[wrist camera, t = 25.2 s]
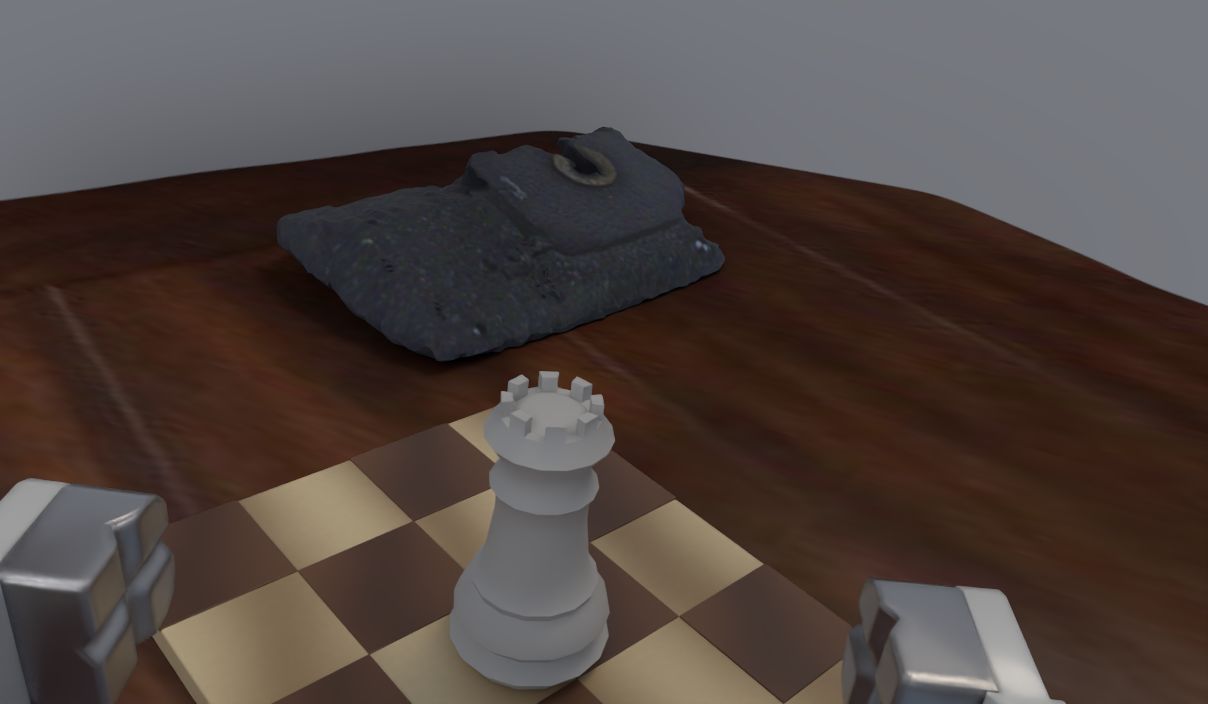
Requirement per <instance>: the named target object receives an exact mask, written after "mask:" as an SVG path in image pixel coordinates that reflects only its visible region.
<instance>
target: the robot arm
mask: <svg viewBox="0 0 1208 704" xmlns="http://www.w3.org/2000/svg"><path fill="white" fill-rule="evenodd" d="M168 524H169V519H168V514H167V509H166V503H165V500H164V499H162V498H161V497H159V496H158V495H154V494H147V493H140V492H132V491H125V490H118V489H111V488H104V487H96V486H89V485H82V484H75V483H73V484H68V483H62V482H55V481H47V480H40V479H33V478H29V479H26V480H24V481H21V482H19V483H17V484H16V485H15V486H14V487H13V488H12V489H11V490H10V491H9V492H8V493H7V494H6V495H5V497H4V498H3V499H2V500H1V501H0V704H114V703H115V702H116V700H117V698H118V697H119V695H120V693H121V692H122V690H123V688H124V687H125V685H126V683H127V682H128V680H129V678H130V677H131V675H132V673H133V671H134V670H135V668H136V666H137V665H138V661H137V655H136V649H135V646H136V645H138V644H140V643H141V642H143V641H145V640H146V639H148V638H150V637H151V636H153V635H155V634H156V633H157V631H158V629H159V627H160V625H161V624H162V622H163V620H164V618H165V617H166V615H167V612H168V608H169V605H170V602H171V598H172V595H173V592H174V584H175V562H174V554H173V552H172V551H171V550H170V549H169V548H168V547H167V546H166V545H165V544H164V543H163V542H162V540H161V539H160V537H161V535H162V534H163V532H164V530H165V529H166V527H167V526H168ZM858 606H859V610H860V615H861V619H862V622H861V623H859V624H858V625H857V626H855V627H854V628H852V629H851V630H850V631H849V633H848V637H847V640H846V644H845V648H844V651H843V660H842V670H841V685H842V697H843V702H844V704H1066V703H1065V702H1064V701H1059V700H1051V699H1050V698H1049V696H1048V693H1047V691H1046V689H1045V686H1044V684H1043V682H1042V679H1041V677H1040V675H1039V672H1038V670H1037V668H1036V665H1035V663H1034V661H1033V658H1032V656H1031V654H1030V651H1029V649H1028V647H1027V644H1026V642H1025V639H1024V637H1023V635H1022V632H1021V630H1020V628H1019V625H1018V623H1017V621H1016V618H1015V616H1014V614H1013V611H1012V609H1011V607H1010V604H1009V602H1008V600H1007V597H1006V596H1005V595H1004V594H1003V593H1002V592H1001V591H1000V590H996V589H985V588H975V587H964V586H955V587H952V586H946V585H936V584H927V583H918V582H909V581H900V580H890V579H881V578H872V577H869V578H868V580H867V581H866V583H865V584H864V586H863V588H862V591H861V594H860V597H859V600H858Z"/></svg>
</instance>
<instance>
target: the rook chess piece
mask: <svg viewBox="0 0 1208 704" xmlns="http://www.w3.org/2000/svg"><path fill="white" fill-rule="evenodd" d="M558 377H559V372H543V371H540V372H539V383H538V387H534V388H529V389H528V383H529V380H528V379H527V378H526V377H524V376H523V375H520V376H518V377H516V378H514V379H512V380H510V381H508V392H504V391H501V401H500V404H499V405H497V406H496V407H495V408H494V409H493V410H492V411H491V413H490V414H489V415H488V417H487V418H486V419H485V421H484V438H485V439H486V441H487V442H488V443H489V445H490V446H491V448H492V449H493V450H494V452H495V453H496V454H497V455H498V456H499V458H500V459H498V460H497V461H496V463H495V464H494V466H493V467H492V469H491V470H490V472H489V482H490V487H491V488H492V490H493V491H494V493H495V494H496V497H495V506H494V511H493V515H492V519H491V523H490V527H489V531H488V535H487V539H486V542H485V544H483V545H482V546H481V547H480V549H479V550H478V552H477V553H476V555H475V557H474V558H473V560H471V561H470V562H469V564H468V565H467V567H466V568H465V570H464V572H463V573H462V575H461V577H460V578H459V580H458V582H457V584H456V587H455V589H454V608H453V609H452V611H451V613H450V638H451V640H452V641H453V643H454V645H455V647H456V649H457V651H458V653H459V654H460V656H461V658H462V659H463V660H464V661H465V662H467V663H468V664H469V665H470V666H472V667H473V668H474V669H476V670H477V671H478V672H479V673H481V674H482V675H483V676H485V677H486V678H487V679H489V680H490V681H491V682H495V683H498V684H501V685H504V686H508V687H511V688H514V689H517V690H526V689H548V688H551V687H553V686H556V685H559V684H562V683H565V682H568V681H570V680H572V679H574V678H576V677H578V676H580V675H581V674H582V673H583V672H585V671H586V670H587V669H588V668H589V667H590V666H591V665H593V664H594V663H595V662H596V661H597V660H598V659H599V658H600V657H601V654H602V652H603V649H604V647H605V644H606V641H607V639H608V636H609V635H608V628H607V622H606V621H607V618H608V616H609V613H610V611H609V604H608V598H607V592H606V587H605V582H604V580H603V578H602V577H601V576H600V574H599V573H598V572H597V567H596V562H595V561H594V559H593V558H592V557H591V555H590V554H589V551H588V526H587V516H588V508H589V503H590V502H591V501H593V500H594V498H595V496H596V494H597V492H598V489H599V483H598V477H597V474H596V473H595V471H594V470H593V469H592V467H593V466H594V465H595V464H597V463H598V462H599V461H600V460H602V459H603V458H604V457H606V456H607V455H608V454H609V452H610V450H611V448H612V446H613V444H614V442H615V438H614V433H613V428H612V425H611V424H610V423H609V421H608V420H607V419H606V417H605V416H604V415H603V411H604V402H603V397H602V395H591V393H592V385H593V384H591V383H589V382H587V381H585V380H583V379H581V378H579V377H576V378H575V379H574V380H573V381H572V385H571V391H570V390H566V389H562V388H558V387H557V386H558Z"/></svg>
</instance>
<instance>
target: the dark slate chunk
mask: <svg viewBox="0 0 1208 704" xmlns="http://www.w3.org/2000/svg"><path fill="white" fill-rule="evenodd" d="M557 147H559V148H560V149H561V150H562V152H563V154H562V155H561V156H560V155H558V154H549V153H547V152H545V151H543V150H542V149H538V148H535V147H532V146H528V145H523V146H521V147H518V148H516V149H513V150H511V151H510V152H508V153H506V154H501V155H500V154H497V153H496V152H495V151H489V152H483V153H475V154H473V155H472V156H471V158H470V160H469V162H468V164H467V166H466V172H464V175H463V176H462V177H461V178H459V179H457V180H456V181H455V182H454V183H453V184H451V185H449V186H445V187H443V188H439V187H436V186H427V187H424V188H421V187H416V188H404V189H400V190H397V191H395V192H392V193H389V194H385V195H381V196H377V197H369V198H365V199H363V200H360V201H356V202H353V203H351V204H347V205H343V206H340V207H336V208H334V207H332V206H330V205H328V206H324V207H321V208H317V209H312V210H305V211H302V212H300V213H296V214H290V215H286V216H284V217H282V218H281V219H280V220H279V222H278V224H277V242H278V244H279V245H280V246H282V247H283V248H284V249H285V250H286V251H287V252H288V253H289V254H291V255H292V256H293V257H294V258H295V259H296V260H297V261H298V262H299V263H300V264H301V265H302V266H303V267H305V268H306V271H307V272H308V273H309V274H310V275H314V276H315V277H316V278H317V279H318V280H319V281H320V282H322V283H323V284H324V285H326V286H328V287H329V288H330V289H332V290H334V291H335V292H336V293H337V294H338V295H339V297H340V298H341V300H342V301H343V303H344V304H345V305H346V306H347V307H348V309H349V310H350V311H351V312H352V313H354V314H355V315H356V316H358V317H360V318H361V319H363V320H365V321H367V323H368V324H370V325H371V326H373V327H374V328H376V329H377V330H378V331H380V332H381V333H383V334H384V335H385V336H386V338H387V339H388V340H390V341H391V342H392V343H394V344H397V345H401V346H405V347H406V348H408V349H409V350H411V351H413V352H415V353H418V354H421V355H425V356H428V357H431V358H434V359H436V360H437V361H441V362H445V361H450V360H454V359H457V358H461V357H469V356H473V355H477V354H485V353H490V352H501V351H502V350H504V349H505V348H507V347H513V346H522V345H523V344H525V343H526V342H527V341H530V340H536V339H541V338H543V337H545V336H547V335H549V334H551V333H561V332H565V331H568V330H570V329H572V328H574V327H576V326H577V325H579V324H583V323H588V322H591V321H593V320H596V319H601V318H604V317H605V316H606V315H608V314H611V313H614V312H616V311H620V310H623V309H626V308H628V307H630V306H633V305H636V304H639V303H641V302H642V301H643V300H644V299H651V298H654V297H656V296H658V295H659V294H661V293H664V292H668V291H670V290H672V289H674V288H676V287H683V286H687V285H688V284H689V283H691V282H695V281H697V280H698V279H699V278H700V277H702V276H707V275H708V274H710V273H712V272H715V271H717V270H718V269H719V268H720V267H721V266H722V264H723V263H724V261H725V257H724V255H723V254H722V251H721V250H720V249H719V245H718V244H716V243H713V242H710V241H708V240H706V239H705V238H704V236H703V233H702V230H701V228H699V227H696V226H692V225H690V224H689V223H687V222H686V220H685V219H684V216H683V214H682V208H683V206H684V188H685V186H684V185H683V184H682V182H681V181H680V179H679V178H678V176H677V175H676V174H675V173H673V172H672V171H671V170H670V169H669V168H667V167H666V166H664V165H662V164H660V163H659V162H658V161H657V160H655V159H653V158H651V157H649V156H647V155H646V154H645V153H644V152H642V151H641V150H639V149H636V148H634V146H633V145H632V144H631V143H630V142H628V141H627V140H626V139H625V138H624V136H623V135H622V134H621V133H620V132H619V131H617V130H614V129H613V128H607V127H602V128H599V129H597V130H595V131H594V132H592V133H588V134H584V135H582V136H578V135H575V137H573V138H559V139H558V141H557Z"/></svg>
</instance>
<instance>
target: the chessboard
mask: <svg viewBox="0 0 1208 704" xmlns="http://www.w3.org/2000/svg"><path fill="white" fill-rule="evenodd" d="M494 408H495V407H493V408H490V409H488V410H485V411H482V412H480V413H477V414H474V415H471V416H469V417H466V418H463V419H460V420H458V421H455V422H452V423H450V424H447V423H444V424H441V425H439V426H436V427H433V428H431V429H428V430H425V431H422V432H420V433H417V434H414V435H411V436H409V437H406V438H403V439H401V440H398V441H395V442H392V443H390V444H387V445H384V446H381V447H379V448H376V449H373V450H370V451H368V452H365V453H362V454H360V455H357V456H354V457H351V458H349V461H346V462H344V463H341V464H338V465H335V466H333V467H330V468H327V469H324V470H322V471H319V472H316V473H314V474H311V475H308V476H305V477H303V478H300V479H297V480H295V481H292V482H289V483H286V484H284V485H281V486H278V487H276V488H273V489H270V490H267V491H265V492H262V493H259V494H256V495H254V496H251V497H248V498H246V499H243V500H240V501H237V500H234V501H231V502H228V503H226V504H223V505H220V506H218V507H215V508H212V509H209V510H207V511H204V512H201V513H198V514H196V515H193V516H190V517H187V518H185V519H182V520H179V521H177V522H174V523H171V524H168V526H167V527H166V529H165V530H164V532H163V534H162V535H161V537H160V539H161V540H162V542H163V543H164V544H165V545H166V546H167V547H168V548H169V549H170V550H171V551H172V552H173V554H174V562H175V584H174V592H173V595H172V598H171V602H170V605H169V608H168V612H167V615H166V617H165V618H164V620H163V622H162V624H161V625H160V627H159V629H158V631H157V633H156V634H155V635H153V636H152V637H153V638H154V640H155V641H156V643H157V644H158V646H159V647H160V649H161V650H162V652H163V653H164V655H165V657H166V658H167V660H168V661H169V663H170V664H171V666H172V667H173V669H174V670H175V672H176V673H177V675H178V676H179V678H180V679H181V681H182V682H183V684H184V685H185V687H186V688H187V690H188V691H189V693H190V694H191V696H192V698H193V699H194V701H195V702H196V704H844V702H843V697H842V685H841V670H842V660H843V651H844V648H845V644H846V640H847V637H848V633H849V631H850V630H851V629H852V628H854V627H852V626H851V625H849V624H848V623H847V622H845V621H844V620H843V619H841V618H840V617H839V616H837V615H836V614H834V613H833V612H832V611H830V610H829V609H828V608H826V607H825V606H824V605H822V604H821V603H819V602H818V601H817V600H815V599H814V598H813V597H811V596H810V595H809V594H807V593H806V592H804V591H803V590H802V589H800V588H799V587H798V586H796V585H795V584H794V583H792V582H791V581H789V580H788V579H787V578H785V577H784V576H783V575H781V574H780V573H779V572H777V571H776V570H774V569H773V568H772V567H770V566H769V565H768V564H766V563H765V564H763V563H761V562H760V561H759V560H757V559H756V558H755V557H753V556H752V555H750V554H749V553H748V552H746V551H745V550H744V549H742V548H741V547H740V546H738V545H737V544H736V543H734V542H733V541H731V540H730V539H729V538H727V537H726V536H725V535H723V534H722V533H721V532H719V531H718V530H716V529H715V528H714V527H712V526H711V525H710V524H708V523H707V522H706V521H704V520H703V519H702V518H700V517H699V516H697V515H696V514H695V513H693V512H692V511H691V510H689V509H688V508H687V507H685V506H684V505H682V504H681V503H680V502H678V501H677V500H676V497H675V496H673V495H672V494H671V493H669V492H668V491H667V490H665V489H664V488H663V487H661V486H660V485H658V484H657V483H656V482H654V481H653V480H652V479H650V478H649V477H648V476H646V475H645V474H643V473H642V472H641V471H639V470H638V469H637V468H635V467H634V466H633V465H631V464H630V463H628V462H627V461H626V460H624V459H623V458H622V457H620V456H619V455H618V454H616V453H615V452H613V451H612V450H610V452H609V454H608V455H607V456H606V457H604V458H603V459H602V460H600V461H599V462H598V463H597V464H595V465H594V466H593V467H592V469H593V470H594V471H595V473H596V474H597V477H598V483H599V489H598V492H597V494H596V496H595V498H594V500H593V501H591V502H590V503H589V508H588V516H587V526H588V551H589V554H590V555H591V557H592V558H593V559H594V561H595V562H596V567H597V572H598V573H599V574H600V576H601V577H602V578H603V580H604V582H605V587H606V592H607V598H608V604H609V611H610V613H609V616H608V618H607V621H606V622H607V628H608V635H609V636H608V639H607V641H606V644H605V647H604V649H603V652H602V654H601V657H600V658H599V659H598V660H597V661H596V662H595V663H594V664H593V665H591V666H590V667H589V668H588V669H587V670H586V671H585V672H583V673H582V674H581V675H580V676H578V677H576V678H574V679H572V680H570V681H568V682H565V683H562V684H559V685H556V686H553V687H551V688H548V689H526V690H517V689H514V688H511V687H508V686H504V685H501V684H498V683H495V682H491V681H490V680H489V679H487V678H486V677H485V676H483V675H482V674H481V673H479V672H478V671H477V670H476V669H474V668H473V667H472V666H470V665H469V664H468V663H467V662H465V661H464V660H463V659H462V658H461V656H460V654H459V653H458V651H457V649H456V647H455V645H454V643H453V641H452V640H451V638H450V613H451V611H452V609H453V608H454V589H455V587H456V584H457V582H458V580H459V578H460V577H461V575H462V573H463V572H464V570H465V568H466V567H467V565H468V564H469V562H470V561H471V560H473V558H474V557H475V555H476V553H477V552H478V550H479V549H480V547H481V546H482V545H483V544H485V542H486V539H487V535H488V531H489V527H490V523H491V519H492V515H493V511H494V506H495V497H496V494H495V493H494V491H493V490H492V488H491V487H490V482H489V472H490V470H491V469H492V467H493V466H494V464H495V463H496V461H497V460H498V459H500V458H499V456H498V455H497V454H496V453H495V452H494V450H493V449H492V448H491V446H490V445H489V443H488V442H487V441H486V439H485V438H484V421H485V419H486V418H487V417H488V415H489V414H490V413H491V411H492V410H493V409H494Z"/></svg>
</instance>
